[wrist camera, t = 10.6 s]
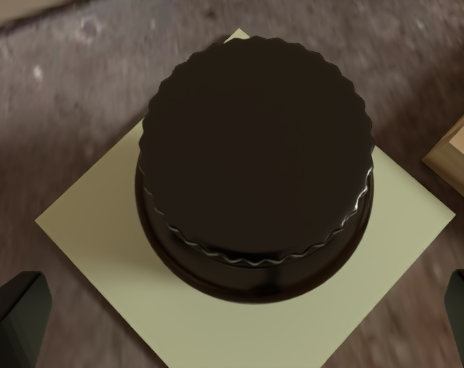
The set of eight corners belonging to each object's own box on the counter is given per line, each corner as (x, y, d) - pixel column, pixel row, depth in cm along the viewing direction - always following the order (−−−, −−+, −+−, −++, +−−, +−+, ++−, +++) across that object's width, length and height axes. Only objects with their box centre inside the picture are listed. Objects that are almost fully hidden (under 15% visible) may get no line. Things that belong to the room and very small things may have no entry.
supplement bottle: (152, 193, 21) (29, 80, 9) (275, 124, 21) (309, -68, 9) (223, 323, 19) (187, 391, 8) (352, 246, 20) (506, 197, 8)
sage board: (245, 444, 19) (245, 451, 18) (42, 222, 21) (34, 220, 21) (447, 217, 21) (456, 214, 20) (239, 36, 23) (239, 28, 22)
